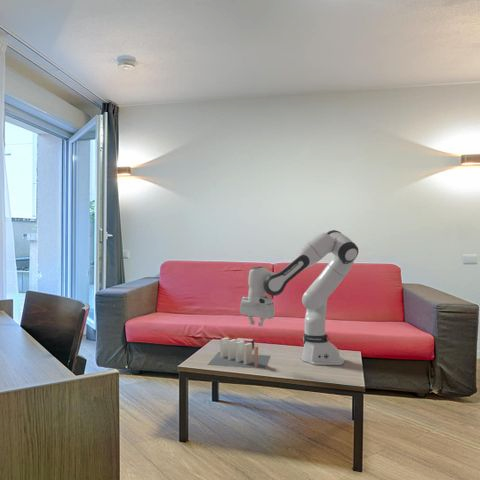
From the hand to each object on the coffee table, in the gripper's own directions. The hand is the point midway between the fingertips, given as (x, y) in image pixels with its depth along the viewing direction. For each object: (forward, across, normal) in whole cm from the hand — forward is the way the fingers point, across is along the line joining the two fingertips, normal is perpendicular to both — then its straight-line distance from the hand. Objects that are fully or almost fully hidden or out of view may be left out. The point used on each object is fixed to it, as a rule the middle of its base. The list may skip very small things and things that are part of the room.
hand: (256, 325), depth 195 cm
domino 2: (+20, -16, 0) cm, 26 cm away
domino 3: (+20, -11, 0) cm, 23 cm away
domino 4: (+20, -6, 0) cm, 21 cm away
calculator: (+22, -28, +23) cm, 42 cm away
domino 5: (+20, 0, 0) cm, 20 cm away
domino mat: (+21, -12, +1) cm, 24 cm away
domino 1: (+20, -22, 0) cm, 30 cm away
